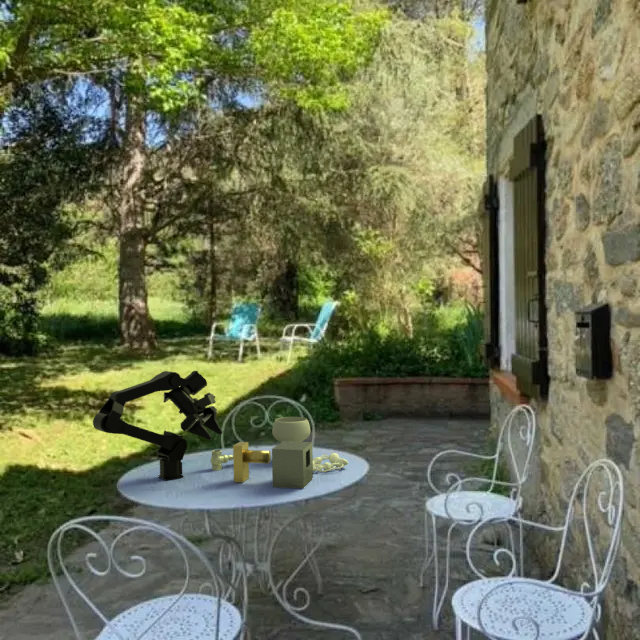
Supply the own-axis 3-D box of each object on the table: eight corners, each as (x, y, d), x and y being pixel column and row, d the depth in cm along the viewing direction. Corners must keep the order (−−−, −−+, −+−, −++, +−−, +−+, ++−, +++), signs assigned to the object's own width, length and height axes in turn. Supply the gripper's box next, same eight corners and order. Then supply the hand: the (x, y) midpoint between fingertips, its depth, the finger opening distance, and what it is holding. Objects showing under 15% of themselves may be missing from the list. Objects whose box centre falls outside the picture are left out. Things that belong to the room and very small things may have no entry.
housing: (272, 487, 211) (271, 449, 211) (283, 477, 222) (282, 441, 222) (303, 488, 208) (302, 450, 208) (313, 478, 220) (312, 442, 220)
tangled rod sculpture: (300, 481, 223) (300, 469, 222) (285, 468, 236) (284, 457, 235) (353, 473, 230) (353, 461, 230) (335, 461, 243) (335, 450, 243)
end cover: (233, 481, 217) (233, 445, 217) (240, 477, 223) (239, 441, 223) (266, 483, 214) (265, 446, 214) (272, 478, 220) (271, 442, 220)
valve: (216, 472, 232) (246, 466, 240) (216, 453, 232) (245, 448, 239) (206, 469, 237) (235, 463, 245) (206, 450, 237) (235, 445, 244)
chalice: (307, 464, 240) (306, 422, 240) (269, 464, 242) (268, 422, 242) (313, 456, 254) (313, 416, 254) (277, 455, 256) (276, 416, 256)
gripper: (188, 389, 216) (221, 424, 214) (211, 382, 235) (241, 415, 232) (166, 413, 218) (199, 448, 216) (190, 405, 237) (220, 437, 234)
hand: (216, 436), depth 225 cm, fingers open, 9 cm apart
